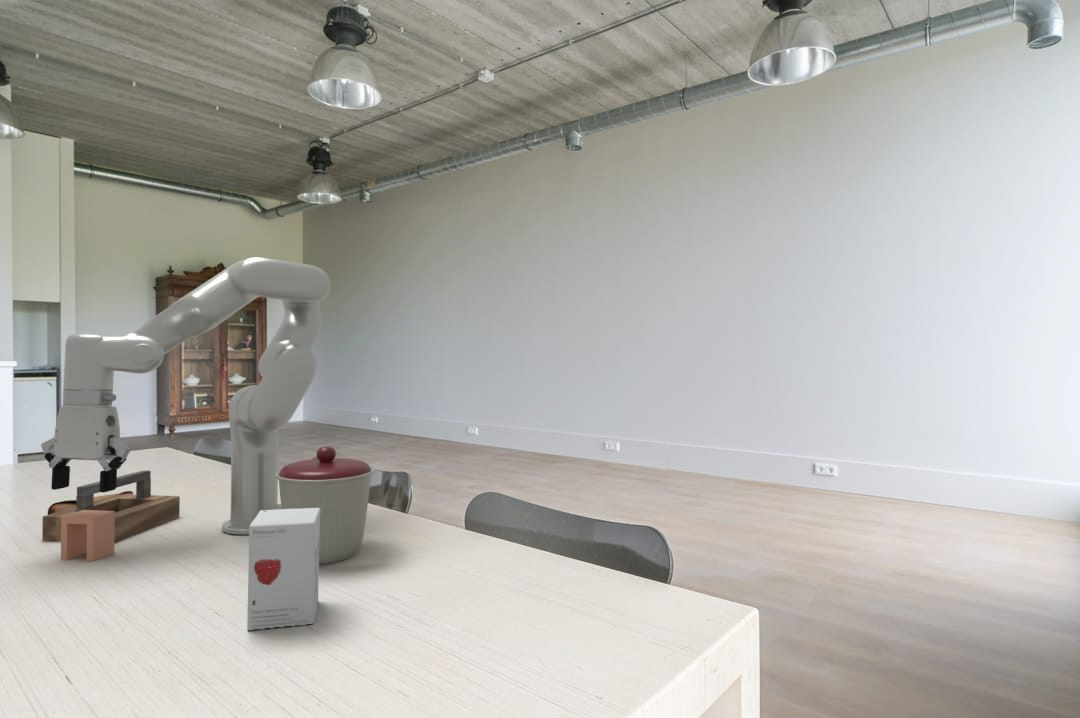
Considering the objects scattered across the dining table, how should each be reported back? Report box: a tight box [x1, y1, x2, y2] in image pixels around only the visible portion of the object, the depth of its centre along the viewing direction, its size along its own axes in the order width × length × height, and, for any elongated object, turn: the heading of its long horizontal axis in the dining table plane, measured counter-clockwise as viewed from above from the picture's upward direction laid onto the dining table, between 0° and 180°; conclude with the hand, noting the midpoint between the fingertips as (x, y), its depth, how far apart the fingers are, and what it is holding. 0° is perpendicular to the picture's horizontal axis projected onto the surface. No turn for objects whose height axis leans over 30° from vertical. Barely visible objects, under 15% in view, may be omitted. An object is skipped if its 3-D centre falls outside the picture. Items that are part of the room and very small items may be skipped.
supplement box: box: [246, 508, 320, 631], centre depth 89 cm, size 9×9×15 cm
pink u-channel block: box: [60, 510, 115, 562], centre depth 113 cm, size 6×5×8 cm
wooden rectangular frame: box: [41, 470, 181, 544], centre depth 131 cm, size 15×20×11 cm
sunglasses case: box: [47, 490, 134, 515], centre depth 144 cm, size 18×7×7 cm, turn 149°
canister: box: [275, 446, 376, 565], centre depth 115 cm, size 18×18×21 cm
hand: (83, 489), depth 113 cm, fingers open, 9 cm apart
